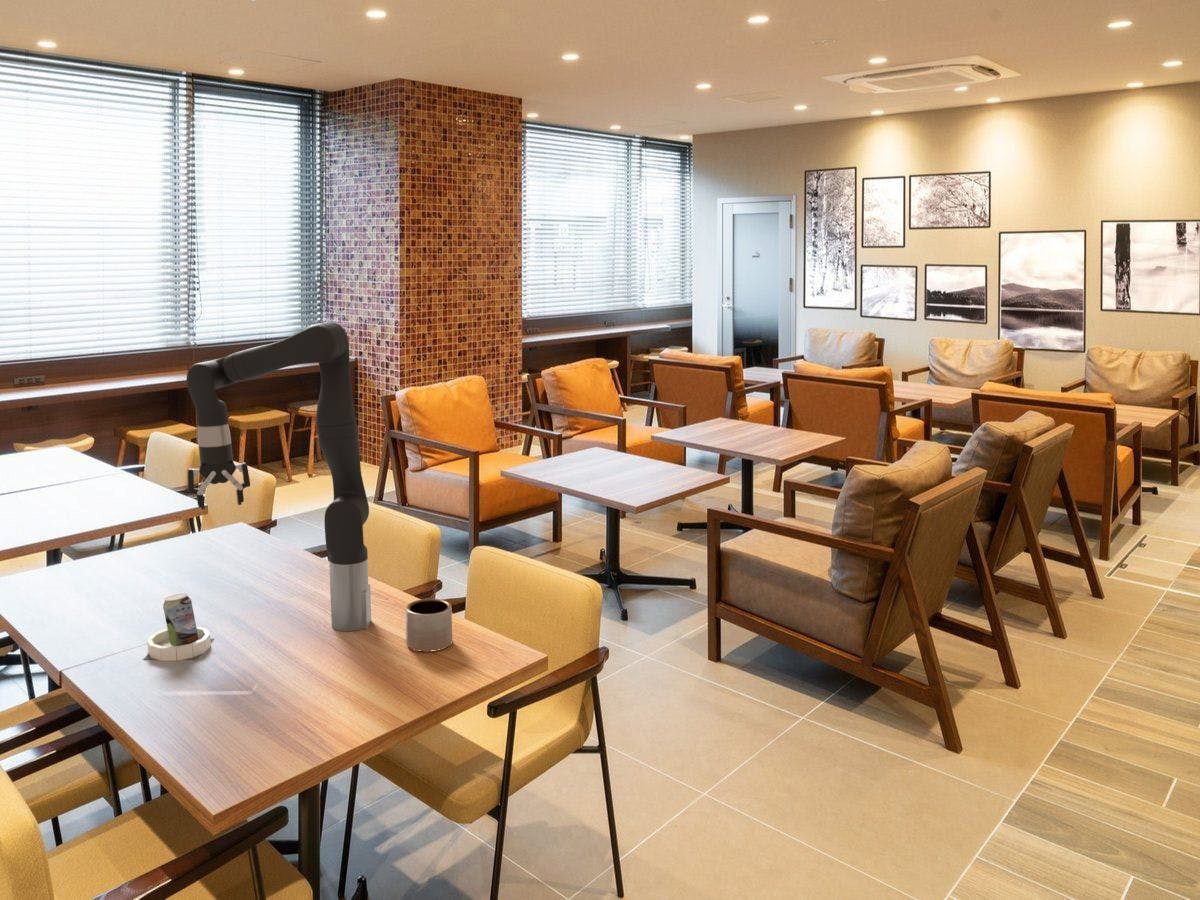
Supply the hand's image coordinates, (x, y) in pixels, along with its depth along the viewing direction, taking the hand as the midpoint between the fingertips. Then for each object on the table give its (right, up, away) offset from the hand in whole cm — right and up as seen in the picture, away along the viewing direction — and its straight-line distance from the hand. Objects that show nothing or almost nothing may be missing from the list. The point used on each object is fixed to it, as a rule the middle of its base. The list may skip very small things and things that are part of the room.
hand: (221, 506), depth 238 cm
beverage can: (-3, -31, -16) cm, 35 cm away
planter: (+53, -33, -9) cm, 63 cm away
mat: (-3, -33, -16) cm, 37 cm away
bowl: (-3, -32, -16) cm, 36 cm away
